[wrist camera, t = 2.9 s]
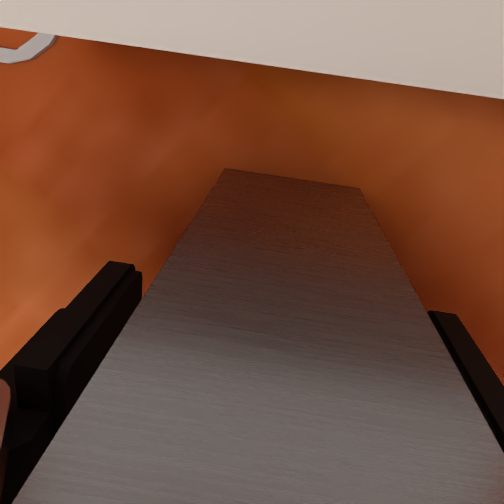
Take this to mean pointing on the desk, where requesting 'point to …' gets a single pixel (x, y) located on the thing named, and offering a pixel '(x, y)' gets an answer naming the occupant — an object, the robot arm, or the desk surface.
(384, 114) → the desk surface
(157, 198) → the desk surface
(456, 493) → the brushed steel block
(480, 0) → the post base
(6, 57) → the scissors
